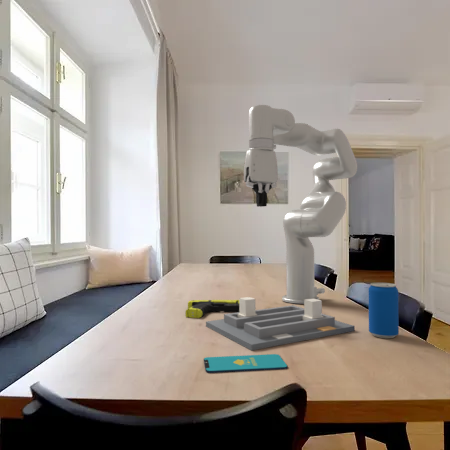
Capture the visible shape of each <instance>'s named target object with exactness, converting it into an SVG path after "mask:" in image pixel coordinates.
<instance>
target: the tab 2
mask: <svg viewBox="0 0 450 450" xmlns="http://www.w3.org/2000/svg"><path fill="white" fill-rule="evenodd" d="M322 304H323V301H322V300H321V299H319V300H317V299H306V300H304V304H303V305H304V306H303V308H304V316H303V321H304V320H311V319H317V318H323V317H324V316H322V314H323V313H322V311H323V310H322V309H323V305H322Z"/></svg>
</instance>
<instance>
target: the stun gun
mask: <svg viewBox="0 0 450 450" xmlns="http://www.w3.org/2000/svg"><path fill="white" fill-rule="evenodd" d="M212 312H224V313H238V312H239V299H193V300H189V301H188V302H187V309H185V317H186V318H192V319H200V318H202V317H203V316H205V314H208V313H212Z"/></svg>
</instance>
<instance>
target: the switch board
mask: <svg viewBox="0 0 450 450" xmlns="http://www.w3.org/2000/svg"><path fill="white" fill-rule="evenodd" d="M238 314H239V312H229V313H225V314H223V319H222V318H221V319H215V320H207V321H205V327H207V328H209V329H211V330H212V331H214V332H216V333H217V334H220V335H221V336H223V337H226V338H227V339H229V340H231V341H233V342H235V343H237V344H239V345H240V346H242V347H245V348H246V349H248V350H250V351H257V350H261V349H267V348H273V347H277V346H282V345H288V344H292V343H297V342H303V341H304V342H305V341H309V340H312V339H313V340H314V339H318V338H325V337H328V336H329V337H330V336H334V335H339V334H345V333H351V332H355V325H353V324H349V323H345V322H342V321H340V320H336V319H335V318H336V317H335V316H331V315H328V314H325V313H322V316H324V317H323V318H317V319H311V320H304V321H303V316H304V307H300V306H297V305H294V304H292V305H285V306H279V307H278V306H276V307H269V308H262V309H256V314H257V315H256V316H249V317H242V318H238Z"/></svg>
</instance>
